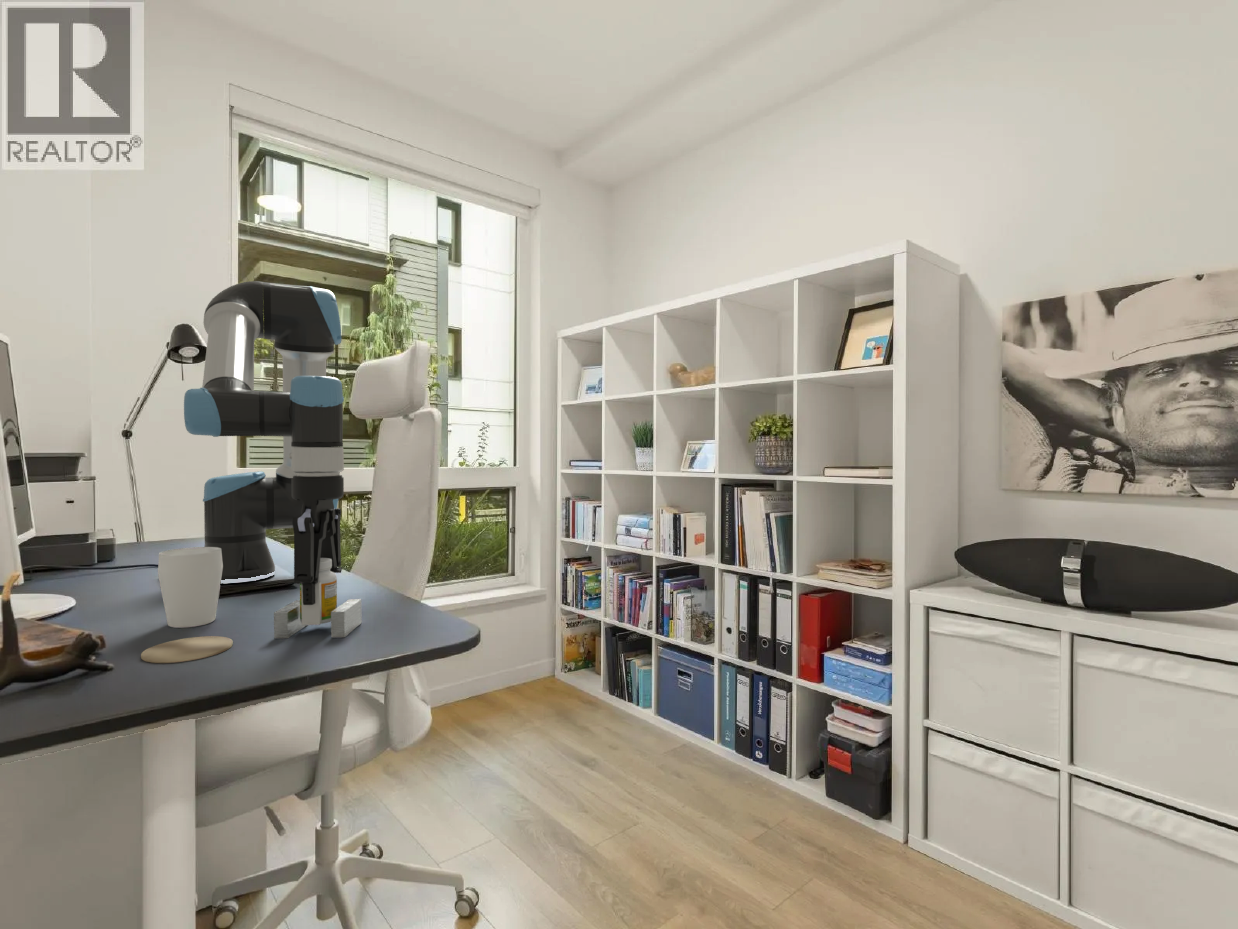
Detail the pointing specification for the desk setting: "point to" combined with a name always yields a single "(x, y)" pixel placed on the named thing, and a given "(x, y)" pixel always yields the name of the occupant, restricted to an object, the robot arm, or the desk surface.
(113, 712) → the desk surface
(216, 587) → the cup
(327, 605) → the supplement bottle
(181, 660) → the coaster
